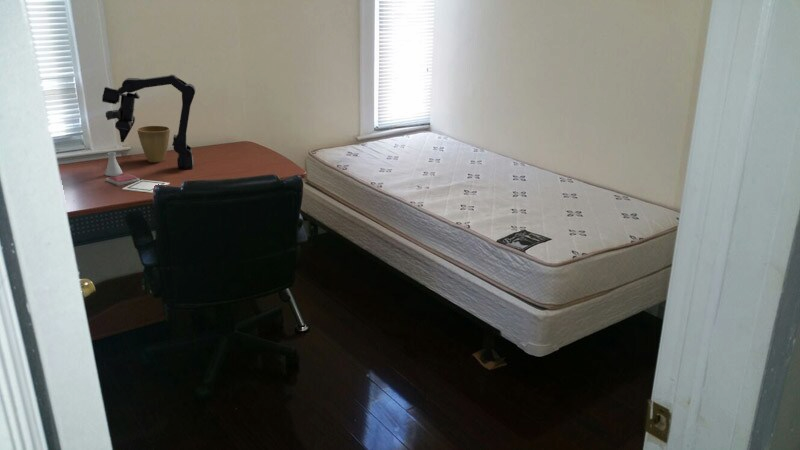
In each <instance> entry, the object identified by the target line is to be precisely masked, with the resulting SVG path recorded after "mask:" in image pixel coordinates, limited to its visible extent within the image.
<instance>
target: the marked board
mask: <svg viewBox="0 0 800 450" xmlns="http://www.w3.org/2000/svg"><path fill="white" fill-rule="evenodd" d="M158 184H159V185H167V186H169V185H170V184H171V183H170V182H165V181H158V180H157V181H156V180H147V179H141V180H140V181H138V182H133V183H130V184H128V185H127V186H124V187H121V188H122V191H132V192H140V193H148V194H149V193H150V194H152V193H154V192H153V189H154V186H155V185H158Z"/></svg>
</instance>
